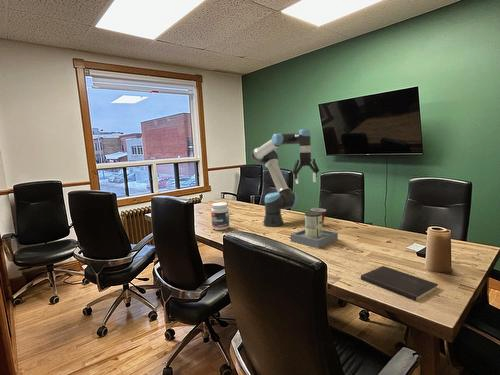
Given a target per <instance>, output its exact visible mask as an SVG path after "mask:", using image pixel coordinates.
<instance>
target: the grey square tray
mask: <svg viewBox="0 0 500 375" xmlns="http://www.w3.org/2000/svg"><path fill="white" fill-rule="evenodd" d="M322 235H323V236H322V237H320V238H309V237H306V236H305V228H304V229H301V230H299V231H296V232H293V233H290V235H289V236H290V242H292V243H296V244H299V245H303V246H308V247H311V248H315V249H320V248H322V247H326V246H328V245H329V244H332V243H334V242H336V241H339V232H336V231H332V230H326V229H322Z"/></svg>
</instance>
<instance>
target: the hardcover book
mask: <svg viewBox="0 0 500 375" xmlns="http://www.w3.org/2000/svg"><path fill="white" fill-rule="evenodd" d="M360 280H361V281H363V282H366V283H369V284H370V285H373V286H375V287H379V288H382V289H384V290H387V291H389V292H391V293H394V294H396V295H398V296H401V297H404V298H405V299H409V300H411V301H414V302H417V301H419V300H420V299H421V298H423V297H425V296H427V295H429V294H431V293H432V292H434V291H435V290H437V289H438V288H437V287H438V286H439V283H436V282H433V281H429V280H426V279H424V278H421V277H417V276H415V275H412V274H410V273H405V272H402V271H399V270H397V269H394V268H391V267H388V266H384V265H381V266H380V267H377V268H375V269H373V270H371V271H367V272H366V273H363V274H361V275H360Z"/></svg>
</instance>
